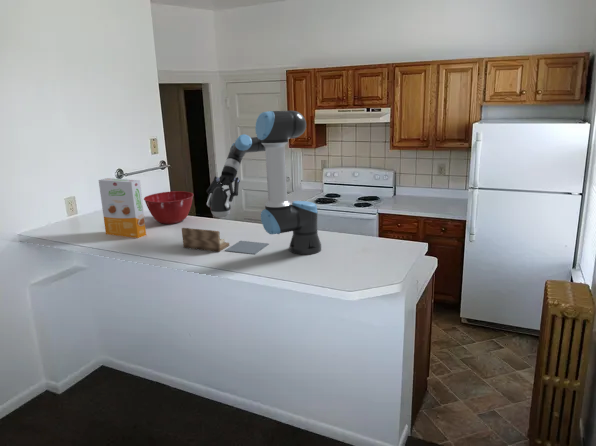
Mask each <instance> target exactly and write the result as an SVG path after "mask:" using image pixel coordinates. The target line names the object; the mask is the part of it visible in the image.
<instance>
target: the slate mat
mask: <svg viewBox="0 0 596 446" xmlns="http://www.w3.org/2000/svg"><path fill="white" fill-rule="evenodd" d="M269 245H270V243H267V242H257V241H249V240H248V241H247V240H239V241H238V242H236V243H234V244H233V245H231V246H228V247H227V248H225V249H224V252H230V253H239V254H247V255H248V254H249V255H256V254H257V253H259V252H261V251H262V250H263V249H265V248H266V247H267V246H269Z"/></svg>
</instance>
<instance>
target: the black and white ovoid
mask: <svg viewBox="0 0 596 446" xmlns="http://www.w3.org/2000/svg"><path fill="white" fill-rule="evenodd" d="M228 191H230V190H229V187H228V188H224V187H223V186H222V187H216V188H215V189H214V191H213V193H212V197H211V202H210V207H209V208H210V209H209V210H210V212H211V214H212V215H213V216H214V217H216V218H226V217H228V216H229V214H230V213H231V210H232V207H231V203H230V204H229V207H228V208H226V206H225V203H226V200H227V197H228V193H227V192H228Z"/></svg>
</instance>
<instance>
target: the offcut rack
mask: <svg viewBox="0 0 596 446" xmlns="http://www.w3.org/2000/svg"><path fill="white" fill-rule="evenodd" d="M181 236H182V246H183V249H189V248H191V250H197V249H199V250H200V251H205V252H206V251H207V252H215V253H216V252H217V253H220V252H222V251H223V250H226V249H227V248H229V247H230V242H226V241H225V240H226V239H225V238H220V237H221V232H220V231H219V230H211V229H199V228H190V227H182V228H181Z"/></svg>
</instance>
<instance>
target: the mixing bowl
mask: <svg viewBox="0 0 596 446" xmlns="http://www.w3.org/2000/svg"><path fill="white" fill-rule="evenodd" d="M193 197H194V193H193V192H190V191H183V190H182V191H181V190H177V191H176V190H175V191H173V190H172V191H162V192H158V193H156V192H155V193H152V194H149V195H147V196H146V195H145V197H144V198H143V200H144V202H145V205H146V207H147V209H148V211H149V213H150V214H151V216H152V218H153V219H154V220H156V221H157V222H158V223H160V224H163V225H173V224H178V223H179V224H180V223H181V222H183V221H184V220H185V219H187V217H188V215H189V213H190V210H191V209H192V208H191V207H192V204H193Z"/></svg>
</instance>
